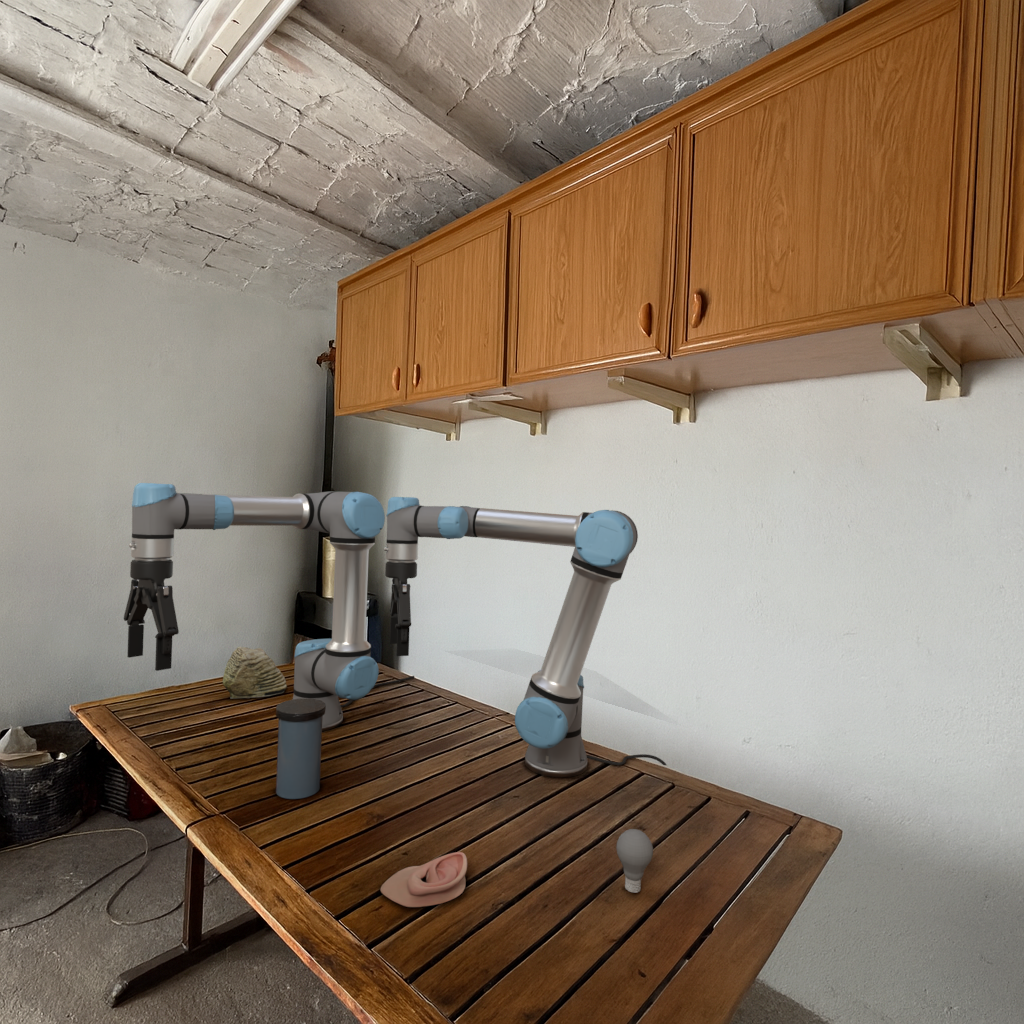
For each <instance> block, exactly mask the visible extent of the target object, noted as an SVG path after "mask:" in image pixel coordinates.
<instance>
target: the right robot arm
mask: <svg viewBox="0 0 1024 1024" xmlns="http://www.w3.org/2000/svg"><path fill="white" fill-rule="evenodd" d="M385 515H386V516H385V517H386V540H385V541H386V546H384V547H383V551H384V552H385V559H386V560H387V561H386V562H385V567H384V568H385V570H384V571H385V572H384V576H385V577H386V578H388V579H391V582H392V583H391V588H390V589H391V594H390V595H391V597H390V607H389V613H390V624H389V626H390V627H389V628H390V629H389V645H395V644H396V657H408V656H409V653H410V627H411V626H412V617H411V616H412V615H411V613H412V612H411V584H410V583H408V579H415V578H416V577H417V576H418V563H417V562H416V561H417V560H418V558H419V557H418V555H419V538H431V539H432V538H433V539H446V540H454V539H455V540H456V539H459V540H460V539H462V538H464V537H467V538H468V537H469V538H481V539H489V540H490V539H491V540H498V541H499V540H500V541H501V540H502V541H508V542H509V541H510V542H520V543H521V542H522V543H531V544H541V545H550V546H551V545H552V546H561V547H572V548H573V552H572V555H571V558H570V561H569V562H570V565H571V567H572V569H573V574H572V577H571V580H570V583H569V585H568V589H567V591H566V594H565V597H564V600H563V603H562V607H561V609H560V612H559V615H558V617H557V621H556V624H555V627H554V629H553V633H552V636H551V639H550V642H549V645H548V648H547V651H546V653H545V657H544V660H543V663H542V666H541V669H539V670H537V672H534V673H532V675H531V677H530V680H529V683H528V685H527V689H526V691H525V695H524V698H523V700H521V702H520V703H519V704H518V706H517V707H516V711H515V715H514V725H515V729H516V731H517V733H518V735H519V737H520V738H521V739H522V740H523V741H524V742H525V743H526V744H528V746H527V748H526V751H525V755H524V764H525V767H526V768H527V769H529V770H530V771H532V772H533V773H535V774H538V775H541V776H545V777H550V778H572V777H577V776H579V775H582V774H583V773H585V772H586V771H587V770H588V760H592V761H596V762H599V763H603V764H607V765H613V766H623V765H625V764H626V763H627V760H629V759H638V758H639V759H641V758H647V759H652V760H655V761H657V762H658V763H660V764H661V765H663V766H667V763H666V762H665V761H664V760H663V759H661V758H660V757H658V756H655V755H653V754H645V753H643V754H632V755H626V756H624V757H623V759H622V761H612V760H607V759H603V758H600V757H595V756H592V755H587V751H586V748H585V745H584V741H583V740H584V739H583V737H582V726H583V721H582V720H583V704H584V703H583V702H584V689H585V685H584V677H583V675H582V671H583V669H584V665H585V664H586V663H585V662H586V660H587V656H588V654H589V651H590V649H591V646H592V642H593V640H594V636H595V633H596V631H597V628H598V626H599V625H598V624H599V622H600V619H601V616H602V613H603V610H604V607H605V604H606V601H607V599H608V595H609V593H610V590H611V587H612V585H613V584H614V583H617V582H618V581H620V580H622V576H623V574H624V572H625V568H626V566H627V562H628V559H629V558H630V557H629V556H630V555H631V553H633V551H634V550H635V548H636V546H637V544H638V539H639V535H638V529H637V525H636V524H635V522H634V520H633V519H632V518H631V517H630V516H629V515H627V514H626V513H625V512H622V511H619V510H613V509H612V510H609V509H600V510H596V511H593V512H588V511H582V512H581V513H580V514H578V515H573V514H562V513H561V514H559V513H547V512H533V511H523V510H510V509H500V508H499V509H496V508H487V507H485V508H484V507H472V506H468V505H467V506H466V505H462V506H461V505H460V506H455V505H454V506H453V505H452V506H451V505H447V506H446V505H444V506H443V505H440V506H439V505H421V504H420V499H419V498H418V497H414V496H413V497H412V496H391V497H390V498H388V500H387V510H386V514H385Z"/></svg>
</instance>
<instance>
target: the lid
mask: <svg viewBox="0 0 1024 1024" xmlns="http://www.w3.org/2000/svg"><path fill="white" fill-rule="evenodd" d="M292 699H293V698H292ZM292 699H289V700H284V701H283V702H280V703H278V704H277V705H276V707H275V717H276V718H277V719H278V720H279V719H281V720H284V721H292V722H300V721H309V720H314V719H317V718H320V717H322V716H323V715H324V714H325V710H326V704H325V703H324V702H323V701H321V700H317V699H293V700H292Z"/></svg>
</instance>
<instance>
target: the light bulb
mask: <svg viewBox="0 0 1024 1024" xmlns="http://www.w3.org/2000/svg"><path fill="white" fill-rule="evenodd" d="M615 849H616V854H617V857H618V859H619V861H620V863H621V865H622V867H623V873H624V874H623V875H624V876H625V878H624V888H625V890H627V891H628V892H630V893H634V894H635V893H639V892H640V891H641V889H642V887H641V886H642V879H643V877H644V875H645V871H646V868H647V867H648V866H649V864H650V863H651V861H652V859H653V855H654V847H653V843H652V841H651V838H649V836H648V835H647V834H646V833H645V832H643V831H642V830H641V829H636V828H629V829H627V830H625V831H623V832H622V833H621V834H620V835H619V837H618V839H617V841H616V847H615Z"/></svg>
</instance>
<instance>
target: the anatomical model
mask: <svg viewBox="0 0 1024 1024" xmlns="http://www.w3.org/2000/svg"><path fill="white" fill-rule="evenodd" d="M467 870H468V858H467V856H466V853H464V852H462V851H457V852H456V851H455V852H450V853H448V854H444V855H441V856H439V857H436V858H434V859H432V860H430V861H428V862H426V863H424V864H421V865H411V866H408V867H405V868H402V869H400V870H399V871H396V872H395V873H394V874H392V875H391V876H390V877H389V878H388V879H387V880H386V881H385V882H383V884H382V885H381V886H380V893H381V894H382V895H383V896H384V897H386V898H388V899H389V900H391V901H392V902H394V903H396V904H398V905H400V906H403V907H407V908H422V907H430V906H435V905H440V904H443V903H446V902H449V901H452V900H454V899H456V898H458V897H459V896H460V895H461V894H463V892H464V891H465V889H466V882H467V880H466V874H467Z"/></svg>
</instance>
